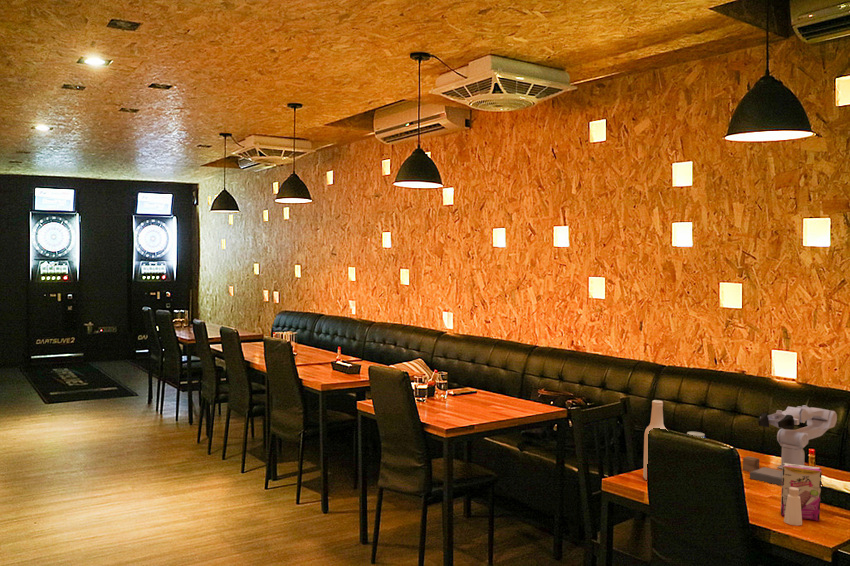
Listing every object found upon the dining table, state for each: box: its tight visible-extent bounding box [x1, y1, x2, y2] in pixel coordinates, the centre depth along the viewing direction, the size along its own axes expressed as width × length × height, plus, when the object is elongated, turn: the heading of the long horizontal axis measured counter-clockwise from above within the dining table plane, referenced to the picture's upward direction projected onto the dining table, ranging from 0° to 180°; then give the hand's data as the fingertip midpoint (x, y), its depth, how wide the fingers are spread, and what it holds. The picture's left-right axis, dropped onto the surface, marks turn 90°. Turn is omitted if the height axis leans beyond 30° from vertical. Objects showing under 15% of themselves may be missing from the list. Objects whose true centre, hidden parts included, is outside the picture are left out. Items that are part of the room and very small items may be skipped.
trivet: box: [749, 466, 782, 487], centre depth 268 cm, size 12×12×3 cm
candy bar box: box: [780, 463, 822, 522], centre depth 227 cm, size 11×5×16 cm, turn 65°
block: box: [742, 456, 760, 473], centre depth 281 cm, size 4×4×5 cm
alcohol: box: [642, 399, 668, 481], centre depth 264 cm, size 9×9×30 cm
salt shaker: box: [783, 487, 803, 526], centre depth 221 cm, size 5×5×11 cm
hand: (769, 424), depth 272 cm, fingers open, 7 cm apart
